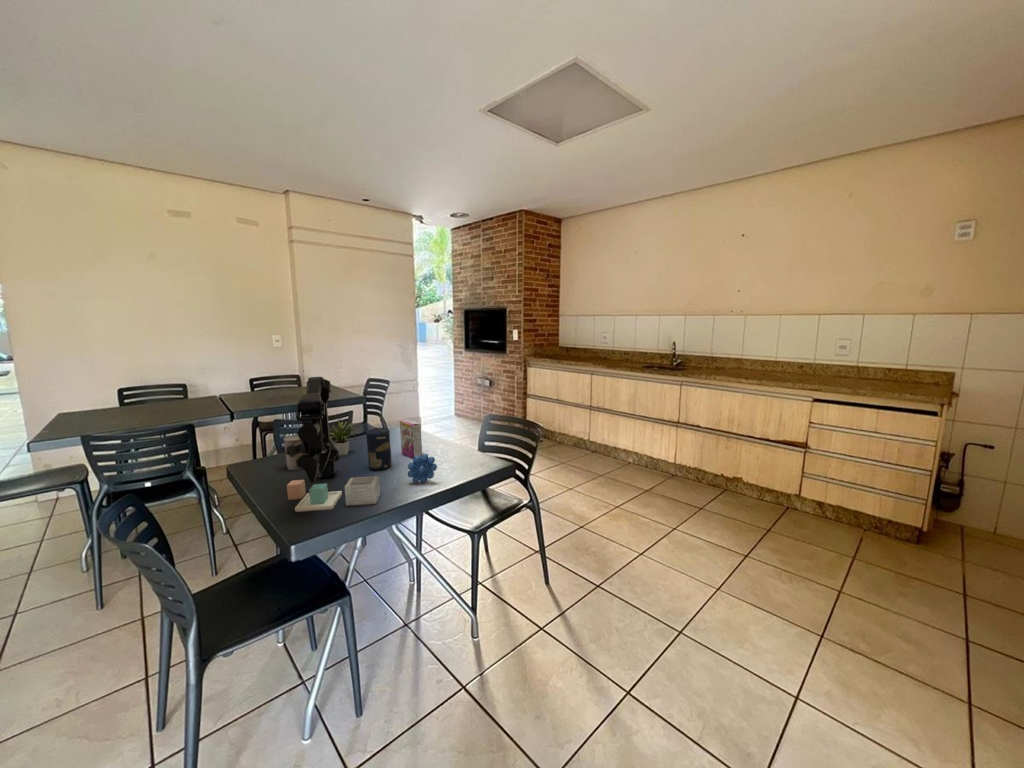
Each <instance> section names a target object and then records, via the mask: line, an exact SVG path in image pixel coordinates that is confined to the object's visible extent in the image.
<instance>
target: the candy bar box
mask: <svg viewBox="0 0 1024 768" xmlns="http://www.w3.org/2000/svg"><path fill="white" fill-rule="evenodd" d="M421 427H422V426H421V423H420V422H417V421H414V420H411V419H403V420H400V421H399V428H400V429H399V430H400V433H399V434H400V444H401V445H400V446H401V447H400V448H401V454H402V455H404V456H406V457H408V458H411V459H413V458H414V457H415V456H419V457H420V458H421V455H423V447H422V444H423V443H422V428H421Z"/></svg>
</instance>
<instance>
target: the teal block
mask: <svg viewBox="0 0 1024 768" xmlns="http://www.w3.org/2000/svg"><path fill="white" fill-rule="evenodd" d="M328 489H329V488H328V483H316V484H315V483H314V484H312V486H311V487H310V488H309V492H308V493H310V502H311V504H324V503H325V502H326V501H327V499H328V492H329V491H328Z"/></svg>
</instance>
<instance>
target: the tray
mask: <svg viewBox="0 0 1024 768" xmlns="http://www.w3.org/2000/svg"><path fill="white" fill-rule="evenodd" d="M342 495H343V491H342V490H336V491H334V490H333V491H328V499H327V501H326V502H325V503H324V504H311V502H310V492H306V494H305V495H304V496H303V498H302V499H300V501H299V503H297V505H296V506H295V507H294V512H295V513H299V512H300V513H301V512H314V511H327V510H333V509H334V507H335V506H336V505H337V503H338V502H339V500H340V499H341V497H342Z"/></svg>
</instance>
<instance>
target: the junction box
mask: <svg viewBox="0 0 1024 768" xmlns="http://www.w3.org/2000/svg"><path fill="white" fill-rule="evenodd" d="M344 495H345V506H346V507H347V506H349V507H350V506H364V505H377V502H378V500H379V498H380V497H381V496H380V495H381V489H380V475H378V476H377V475H376V476H375V475H374V476H360V477H350V478H349V479H348V480H347V483H346V484H345V485H344Z"/></svg>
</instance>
